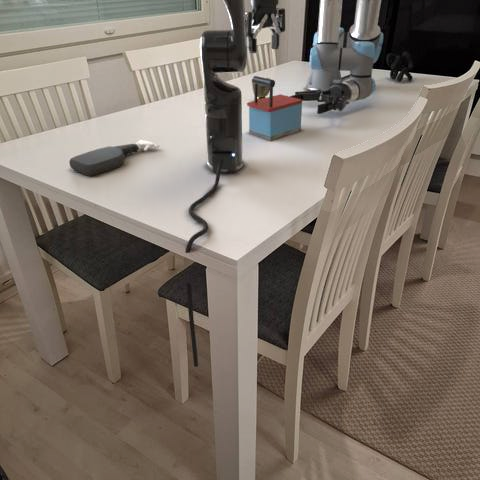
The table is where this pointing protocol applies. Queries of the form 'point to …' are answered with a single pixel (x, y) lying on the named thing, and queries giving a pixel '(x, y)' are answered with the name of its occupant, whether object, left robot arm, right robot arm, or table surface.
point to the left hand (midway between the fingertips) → (264, 50)
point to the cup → (262, 91)
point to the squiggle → (399, 66)
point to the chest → (275, 122)
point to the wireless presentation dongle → (106, 157)
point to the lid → (272, 101)
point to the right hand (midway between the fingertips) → (302, 105)
